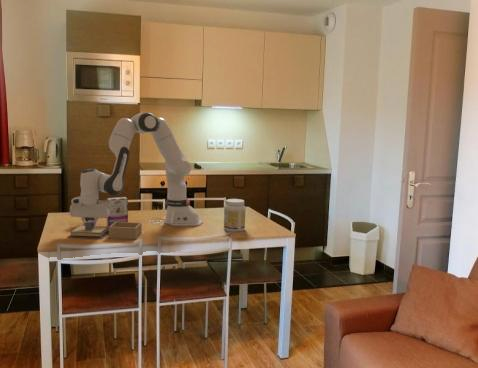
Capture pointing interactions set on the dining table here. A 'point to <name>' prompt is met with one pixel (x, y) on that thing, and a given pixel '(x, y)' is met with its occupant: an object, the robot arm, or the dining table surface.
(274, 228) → the dining table surface
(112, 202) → the candy bar box
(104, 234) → the mat
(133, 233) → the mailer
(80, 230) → the lid
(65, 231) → the dining table surface
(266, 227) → the dining table surface
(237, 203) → the supplement tub
